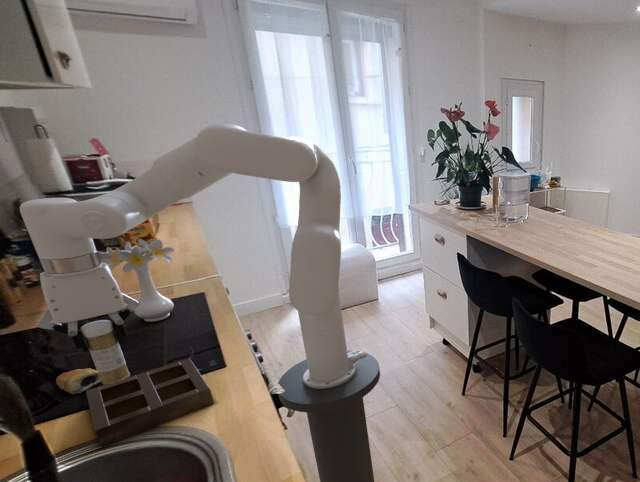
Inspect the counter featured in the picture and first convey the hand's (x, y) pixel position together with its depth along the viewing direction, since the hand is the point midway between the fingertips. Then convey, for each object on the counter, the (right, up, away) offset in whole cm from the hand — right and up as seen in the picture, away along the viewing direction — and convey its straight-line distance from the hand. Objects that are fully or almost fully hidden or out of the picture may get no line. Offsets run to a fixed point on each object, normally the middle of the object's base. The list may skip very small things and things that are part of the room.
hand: (103, 344), depth 85 cm
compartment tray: (+5, -15, +6) cm, 16 cm away
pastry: (-17, -12, +11) cm, 24 cm away
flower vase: (-29, 0, +43) cm, 52 cm away
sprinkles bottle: (0, -8, +3) cm, 9 cm away
